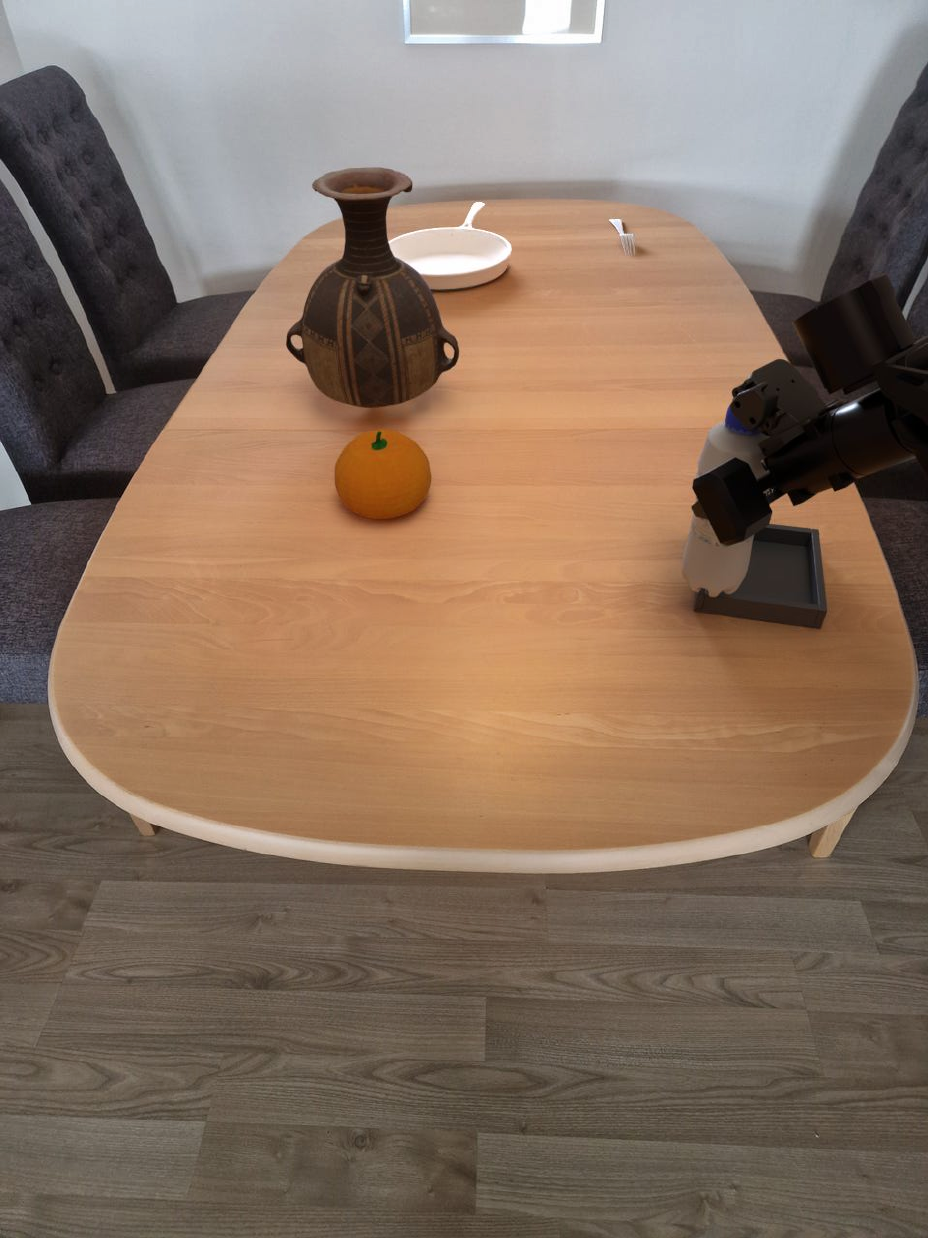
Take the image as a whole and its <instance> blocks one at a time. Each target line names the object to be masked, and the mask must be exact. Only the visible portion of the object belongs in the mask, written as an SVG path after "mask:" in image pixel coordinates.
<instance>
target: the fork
mask: <svg viewBox="0 0 928 1238" xmlns="http://www.w3.org/2000/svg"><path fill="white" fill-rule="evenodd" d="M608 221H609V222H610V223H611V224H612V225H613V226H614V227H615V229H616V230H617V232H618V233H619V234H618V236H619V237H620V240H621V243H622V248H623V251H624V256H627V254H628V256H631V257H632V256H634V257H635V256H636V248H635V247H636V241H635V234H633V233H625V232H624V228H623V221H622V219H620V218H610V219H609V220H608Z"/></svg>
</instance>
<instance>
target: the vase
mask: <svg viewBox="0 0 928 1238" xmlns="http://www.w3.org/2000/svg"><path fill="white" fill-rule="evenodd" d="M413 183H414V182H413V181H412V179H411V178H410V177H409V176H408V175H406V174H405V173H403V172H400V171H397V170H394V169H391V168H385V167H380V166H378V167H377V166H375V167H374V166H369V167H368V166H367V167H366V166H365V167H347V168H345V169H340V170H335V171H330V172H327V173H325V174H323V175H322V176H319V177H318V178H316V179H315V180H314V181H313V182H312V183H311V189H313V190H314V192H316V193H319V194H320V195H323V196H324V197H326V198H331V199H333V200H334V201H335V202H336V204H337V205H338V207H339V210H340V213H341V216H342V217H341V218H342V221H343V226H344V247H343V255H342V257H341V258H340V259H338V260H336V261H335V262H333V263H331V264H330V265H328V266H326V268H324V269H323V270H322V271H321V272H320V274H319V275H318V276H317V278H316V279H315V280H314V282H313V283H312V285H311V287H310V289H309V292H308V293H307V297H306V299H305V302H304V306H303V312H302V316H301V318H300V319H299V320H297V321H296V322H295V323H294V324H293V325H292V326H291V327H290V328H289V330H288V331H287V335H286V340H285V341H286V342H285V345H286V349H287V351H288V352H289V353H290V354H291V355H292V356H293V357H294V358H295V359H296V360H297V361H298V362H300V363H302V364H304V365H305V367H306V369H307V371H308V374H309V377H310V379H311V380H312V382H313V384H314V385H315V387H316V388H317V390H318V391H319V392H320V393H322V394H323V395H324V396H325V397H327V398H329V400H332V401H335V402H338V403H341V404H345V405H348V406H353V407H357V408H365V409H373V408H374V409H375V408H385V407H391V406H392V407H393V406H397V405H399V404H404V403H406V402H409V401H412V400H413V399H416V398H417V397H419V396H421V395H422V394H425V392H427V391H429V390H430V389H431V388H432V387H433V386H435V384H436V383H437V382H438V380H439V379H440V376H442V374H443V373H445V372H448V371H451V369H453V368H454V367H455V366H456V365H457V363H458V360H459V357H460V347H459V343H458V340H457V338H456V336H455V335H453V334H452V333H450V332H449V331H448V330H447V329H446V328H445V326H444V324H443V322H442V318H441V314H440V310H439V306H438V304H437V301H436V299H435V296H434V294H433V292H432V290H430V288H429V286H428V285H427V283H426V282H425V280H424V279H423V277H422V276H421V275H420V274H419V272H418V271H416V270H415V269H414V268H413V267H411V266H410V265H408V264H407V263H405V262H403V261H402V260H400V259H398V258H396V257H395V256H394V255H393V253H392V251H391V249H390V245H389V238H388V229H387V227H388V226H387V212H388V208H389V204H390V201H391V199H392V198H393V197H394V196H396V195H399V194H400V193H402V192H403V193H411V192H412V191H413ZM293 336H298V337H300V339H301V342H302V347H301V348H299V347H298V348H297V347H296V346H294V344H293V342H292V337H293ZM445 344H448V345H449V346H451V348H452V349H453V357H451V358H450V357H448V356H447V354H446V352H445Z"/></svg>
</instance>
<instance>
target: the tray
mask: <svg viewBox="0 0 928 1238" xmlns="http://www.w3.org/2000/svg"><path fill="white" fill-rule="evenodd" d="M822 557H823V556H822V549H821V540H820V531H819V529H818V528H810V527H801V526H793V525H785V524H775V523H770V524H769V525H768V526H766V527H765V528H763V529H762V530H760V531H759V532H757V533H755V534H754V537H753V542H752V549H751V556H750V561H749V566H748V570H747V573H746V576H745V578H744V579H743V581H742V582H741V584H740V586H739V587H738V589H737V590H736V591H735V592H733V593H731V594H726V593H725V592H724V590H723V591H722V592H720V594H719V595H718V596H716V597H710V596H709V592H708V590H707V589H704V588H701V590H700V591H699V592H695V591H694V595H693V612H697V613H703V614H711V615H718V616H725V617H732V618H739V619H747V620H754V621H760V622H768V623H774V624H775V623H776V624H784V625H789V626H790V625H791V626H798V627H805V628H811V629H819V630H821V629H822V627H823V625H824V621H825V618H826V617H827V614H828V604H827V603H828V602H827V595H826V593H827V592H826V584H825V576H824V567H823V560H822Z"/></svg>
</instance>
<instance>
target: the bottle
mask: <svg viewBox="0 0 928 1238" xmlns="http://www.w3.org/2000/svg"><path fill="white" fill-rule="evenodd" d="M705 438H706V439H705V441H704V445H703V447H702V451H701V453H700V456H699V458H698V461H697V471H696V475H695V476H696V477H695V478H697V477H699V476H700V475H702V474H704V473H706V472H707V471H709V470H711V469H713V468H714V467H716V466H718V465H720V464H722V463H724V462H726V461H728V460H730V459H732V458H735V457H736V458H738V459H740V460H742V461H745V462H747V463H749V465H750V467H751V469H752V471H753V473H754V475H755V477H756V479H758V478H760V477H762V476H763V475H765V474H767V473H768V472H769V470H767V471H765V470H764V469H763V467H762V465H761V460H762V459H764V458H765V456H764V455H763V453H762V451H761V449H760V447H759V445H758V443H760V442H762V441H763V440H765V439H767V438H769V436H766V435H764V434H762V433H761V432H760V431H759V430H758V429H757V428H756V429H755V430H747V429H746V428H745V427H744V426H743V425H742V424H741V422H740V421H739V420H738V419H737V418H736V417H735V416H734V415H733V414H732V413H731V410H730V404H729V405H728V407H727V409H726V412H725V417H724V421H721V422H719V423H717V424H715V425H714V426H712V427H711V428H710V430H709V431H708V432H707V435H706V437H705ZM769 489H770V488H769ZM769 489H767V490H766V491H764V492H763V493H765V492H767V491H769ZM697 501H698V499H697V497H696V496H695V502H694V504H695V503H696V502H697ZM692 512H693V511H692ZM753 537H754V535H752V536H751V537H749V538H748V539H746V540H745V541H743V542H740V543H737V544H734V545H731V546H728V547H727V546H725V545H723V544H721V543H720V542H719V540H718V538H717V536H716V534H715V532H714V530H713V528H712V526H711V524H710V522H709V520H706V519H703V518H699V517H696V516H695V514H694V512H693V513H692V517H691V524H690V529H689V533H688V536H687V540H686V544H685V547H684V551H683V556H682V559H681V560H682V561H681V574H682V577H683V579H684V580H685V581H687V582H688V585H689V587H690V589H691V590H692V592H693V591H694V593H695V592H699V591H700V590H701V588H704V589H707V590H708V592H709V596H710V597H716V596H718V595H719V594H720V592H722V591H723V590H724V592H725V593H726V594H731V593H733V592H735V591H736V590H737V589H738V587H739V586H740V584H741V582H742V581H743V579H744V578H745V576H746V573H747V570H748V566H749V561H750V556H751V549H752V542H753Z"/></svg>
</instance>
